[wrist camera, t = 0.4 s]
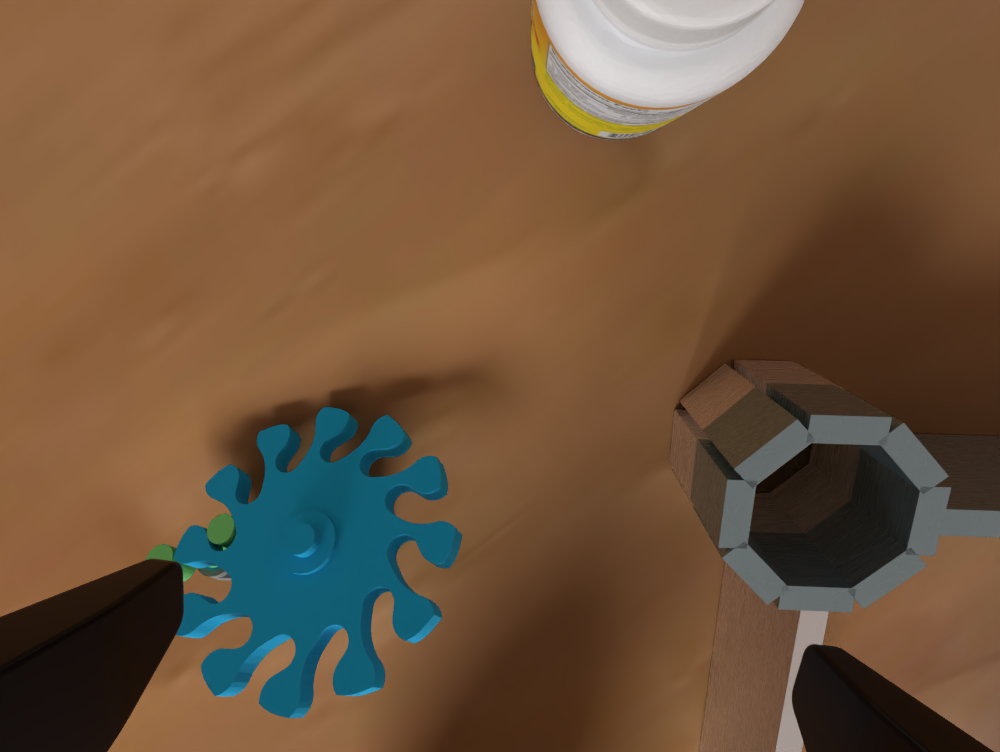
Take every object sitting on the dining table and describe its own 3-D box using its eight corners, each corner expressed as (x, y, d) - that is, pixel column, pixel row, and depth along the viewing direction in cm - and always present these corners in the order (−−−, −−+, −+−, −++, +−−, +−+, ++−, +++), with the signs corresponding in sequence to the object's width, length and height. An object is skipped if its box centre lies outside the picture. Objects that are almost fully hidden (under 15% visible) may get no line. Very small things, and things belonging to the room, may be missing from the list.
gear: (461, 391, 21) (433, 727, 16) (497, 454, 26) (484, 722, 21) (181, 407, 23) (82, 707, 18) (265, 462, 28) (205, 707, 23)
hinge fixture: (1057, 773, 26) (1209, 935, 20) (639, 752, 27) (670, 904, 21) (1195, 372, 21) (1449, 434, 15) (679, 358, 22) (736, 412, 16)
